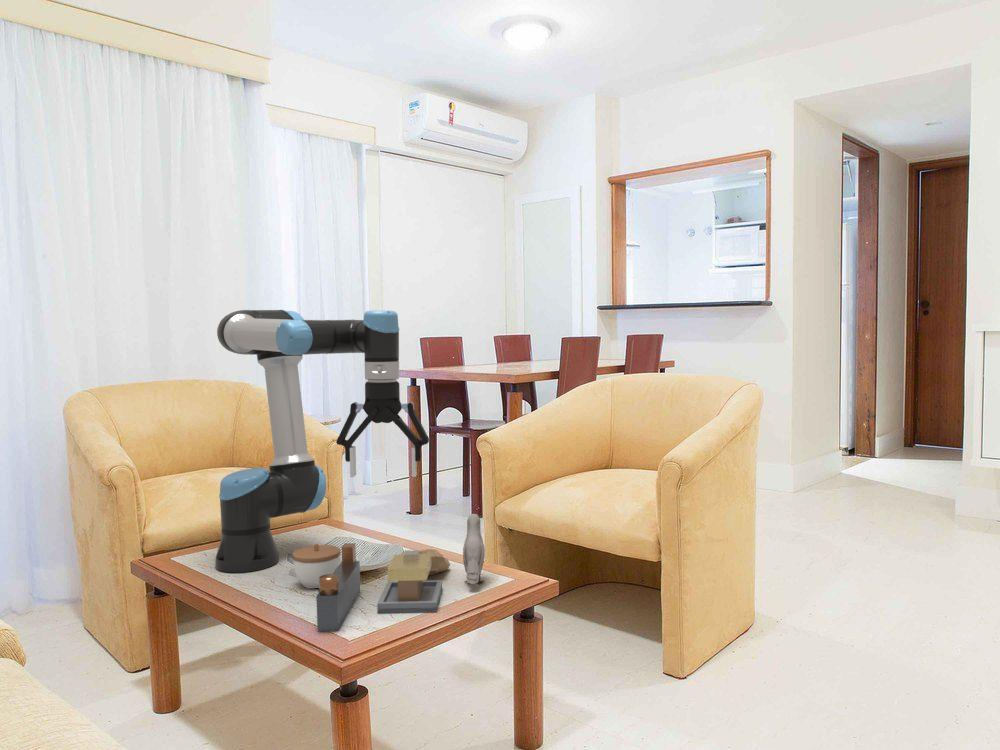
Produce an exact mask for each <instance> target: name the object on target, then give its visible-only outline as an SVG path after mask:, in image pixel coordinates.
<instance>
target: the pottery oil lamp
mask: <svg viewBox="0 0 1000 750" xmlns="http://www.w3.org/2000/svg"><path fill="white" fill-rule="evenodd" d="M419 554H431V568H430V572H429V575H428V576H431V575H436V574H438V573H442V572H446V571H447V570H448V569H450V566H451V563H450V561H449V559H448V558H446V557H444V555H442V553H440V552H439V550H437V549H434V548H429V549H427V548H426V549H423V550H419Z"/></svg>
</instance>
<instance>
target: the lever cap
mask: <svg viewBox="0 0 1000 750" xmlns="http://www.w3.org/2000/svg"><path fill="white" fill-rule="evenodd" d="M419 551H420V550H415V549H414V550H413V549H412V550H405V551H404V553H403V554H394V555H393V558H392V560H391V562H390V564H389V566H388V567H387V582H388V581H415V580H423V581H428V577H429V576H430V575H429V572H430V568H431V554H419Z"/></svg>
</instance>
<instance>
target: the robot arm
mask: <svg viewBox="0 0 1000 750" xmlns="http://www.w3.org/2000/svg"><path fill="white" fill-rule="evenodd" d="M216 333H217V334H216V335H217V339H218V342H219V344H220V345H221V346H222V348H224V349H225V350H227V351H228V352H231V353H233V354H237V355H246V356H247V355H251V356H252V355H253V356H254V355H256V360H257V364H259V365H260V366H261V367H263V369H264V376H265V384H266V385H265V386H266V387H265V388H266V395H267V404H268V405H267V406H268V411H269V413H268V414H269V420H270V421H269V422H270V429H271V430H270V431H271V439H272V440H271V441H272V448H273V449H272V450H273V460H272V461H271V462H270V463H269V466H268V467H269V470H268V469H267V468H265V467H254V468H246V469H240V470H238V471H234V472H232V473H229V474H227V475H225V476H224V477H223V478H222V479H220V480H221V481H220V484H219V496H218V497H219V506H220V524H221V526H220V527H221V538H220V541H219V545H218V547H217V551H216V554H215V560H214V561H215V563H214V564H215V569H216V570H217V571H220V572H223V573H232V574H233V573H234V574H235V573H237V574H238V573H249V572H250V573H251V572H256V571H260V570H265V569H267V568H270V567H272V566H274V565H277V564H278V562H279V560H280V557H279V550H278V547H277V544H276V542H275V539H274V537H273V535H272V534H273V533H272V531H271V519H273V518H278V517H283V516H289V515H294V514H302V513H304V514H305V513H306V512H309V511H313V510H315V509H317V508H318V507H320V506H321V504H322V502H323V501H324V499H325V496H326V491H327V478H326V474H325V473H324V469H323V468H322V467H321V466H319V465H316V462H315V458H313V456H311V455H310V454H309V453H308V444H307V436H306V435H307V434H306V425H305V418H304V416H305V415H304V409H303V408H304V407H303V401H302V399H303V398H302V392H301V382H300V375H299V366H298V365H299V364H300V363H301V361H302V360H303V356H304V355H322V354H326V355H327V354H329V355H330V354H333V355H334V354H364V355H363V356H364V379H365V380H366V382H365V383H364V398H365V399H364V403H359V402H356V401H354V402H352V403H351V404H350V408H349V413H348V416H347V418H346V420H345V422H344V425H343V427H342V429H341V430H340V433H339V435H338V437H337V439H336V444H337V445H338V446H339V445H340V446H342V447H344V458H345V462H347V463H349V471H350V472H349V475H350V476H349V477H350V478H354V477H356V476H357V454H356V453H357V451H356V450H357V449H356V445H353V444H354V443H355V441H357V439H358V438H359V437H360V436H361V434H362V433H363V432H364V431H365V430H366V428H367V427H368V426H369V425H370V423H371V422H373V423H374V424H379V423H384V424H390V423H392V422H393V423H394V424H395V425H396V426H397V428H399V429H400V431H401V432H402V433H403V434H404V435H405V436H406V437H407V439H408V440H409V441H410V442H411V443H412V444H413V446H411V477H412V478H416V476H417V475H418V474H417V470H418V469H417V462H420V461H421V460H422V446H425V445H428V444H429V442H430V438H429V436H428V434H427V432H426V430H425V427H424V426H423V424H422V422H421V421H420V419H419V416H418V414H417V413H416V409H415V403H414V402H413V401H409V402H407V403H406V402H405V403H402V402H401V400H400V399H401V398H400V396H401V395H400V394H401V393H400V390H401V389H400V382H399V381H397V380H399V379H400V361H399V360H400V327H399V316H398V313H397V312H396V311H394V310H367V311H365V312H364V314H363V319H324V320H323V319H321V320H320V319H304V318H303V316H302V315H301V314H300V313H298V311H294V310H285V309H267V310H266V309H260V310H259V309H258V310H257V309H255V310H254V309H242V310H241V309H240V310H237V311H232V312H230V313H228V314H227V315H225V316H224V317H223V318H222V319H221V320H220V321H219V324H218V326H217V329H216ZM361 410H363V411H364V412H365V413H366V417H365V419H363V420H362V422H361V424H359V426H358V427H357V428H356V429H355V430H354V432H353V433H352V434H351V436H350V437H349V438H348V439H346V438H347V436H348V434H349V432H350V430H351V429H352V425H353V424H354V421H355V419H356V418H357V415H358V413H361ZM402 410H404V412H405V413H406V414H407V413H408V417H409V418H410V420H411V422H412V424H413V427H415V431H416V432H417V434H418V436H419V437H420V438H419V437H418V436H417V435H416V434H415V432H414V431H413V430H412V429H411V428H410V427H409V425H408V424H407V423H405V421H404V420H403V418H402V417H401V416H400V415H399V413H400V412H401V411H402Z"/></svg>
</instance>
